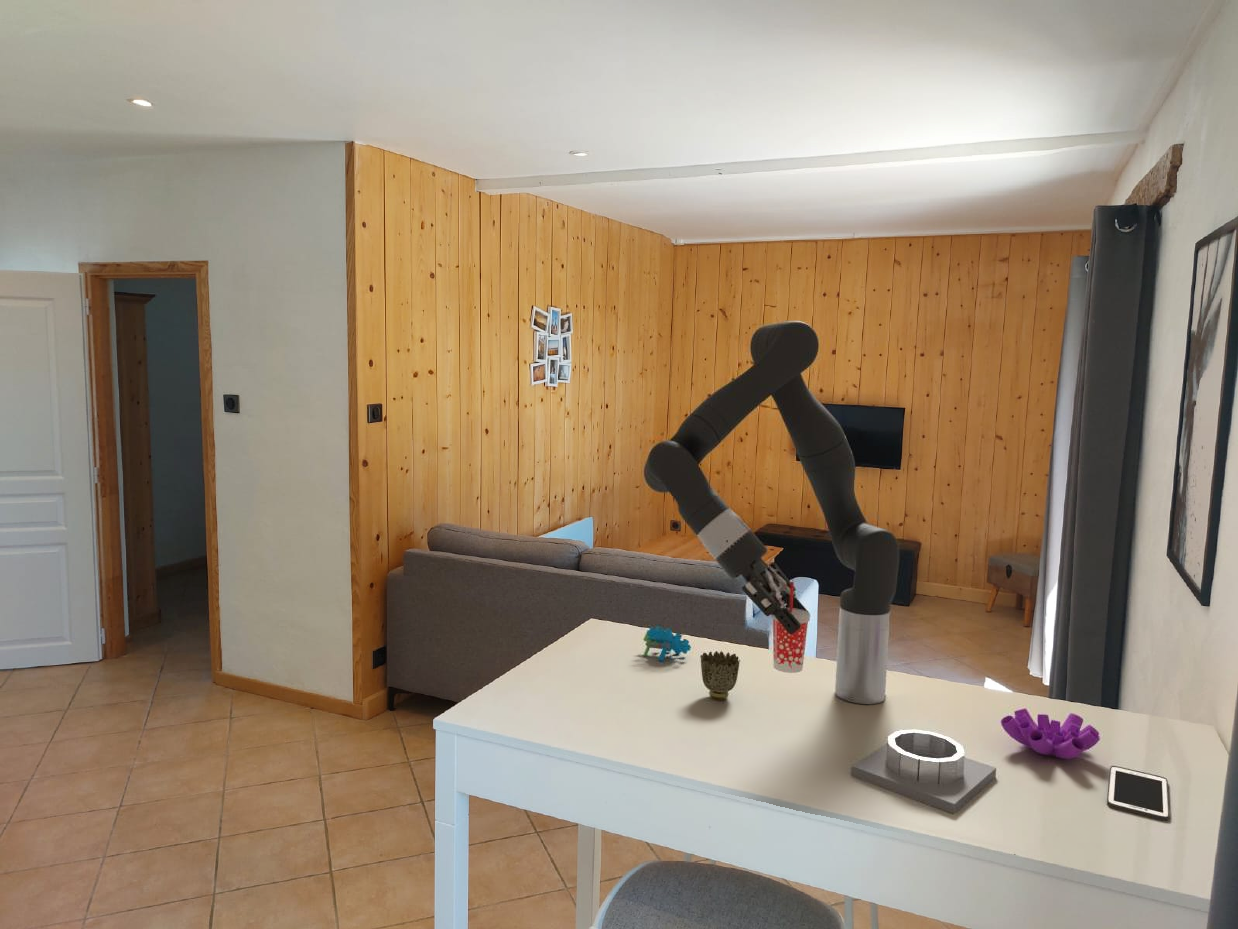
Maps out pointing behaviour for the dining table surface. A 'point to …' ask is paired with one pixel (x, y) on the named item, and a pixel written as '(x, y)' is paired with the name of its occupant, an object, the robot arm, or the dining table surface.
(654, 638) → the blue toy figure
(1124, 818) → the dining table surface
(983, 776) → the flange board
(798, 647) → the beverage cup
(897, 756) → the collar
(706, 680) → the cup
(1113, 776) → the cell phone
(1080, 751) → the purple tube coral
